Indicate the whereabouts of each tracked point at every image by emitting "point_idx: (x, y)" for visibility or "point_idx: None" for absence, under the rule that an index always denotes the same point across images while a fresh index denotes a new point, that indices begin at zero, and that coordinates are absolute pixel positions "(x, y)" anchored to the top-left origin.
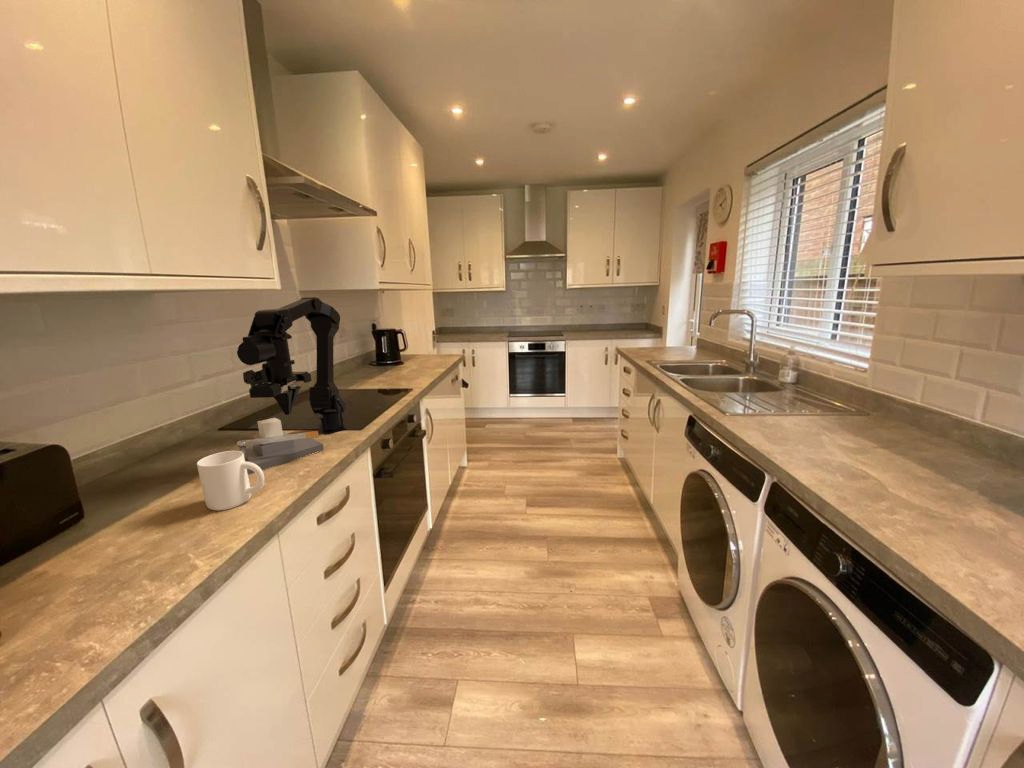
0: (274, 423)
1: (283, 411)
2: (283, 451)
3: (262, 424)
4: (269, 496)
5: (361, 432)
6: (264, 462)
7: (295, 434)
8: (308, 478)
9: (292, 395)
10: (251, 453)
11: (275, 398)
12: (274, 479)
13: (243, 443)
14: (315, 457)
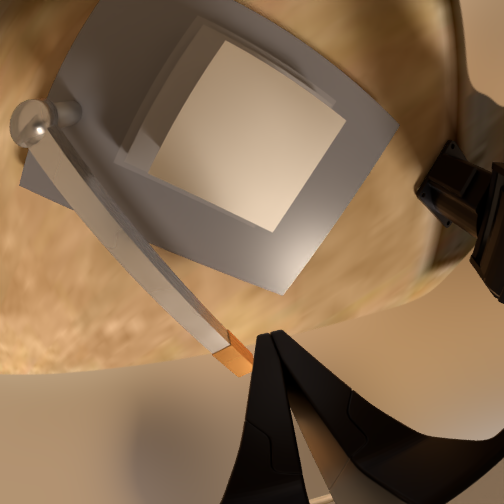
0: (227, 207)
1: (254, 359)
2: (187, 202)
3: (154, 160)
4: (14, 334)
5: (410, 283)
6: None
7: (194, 327)
8: (99, 356)
9: (333, 491)
10: (142, 65)
11: (227, 495)
12: (55, 288)
13: (26, 145)
14: (216, 292)
